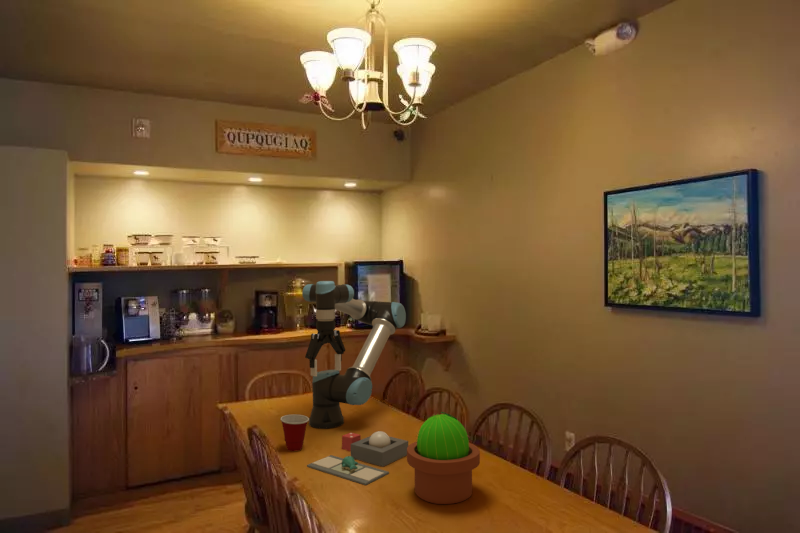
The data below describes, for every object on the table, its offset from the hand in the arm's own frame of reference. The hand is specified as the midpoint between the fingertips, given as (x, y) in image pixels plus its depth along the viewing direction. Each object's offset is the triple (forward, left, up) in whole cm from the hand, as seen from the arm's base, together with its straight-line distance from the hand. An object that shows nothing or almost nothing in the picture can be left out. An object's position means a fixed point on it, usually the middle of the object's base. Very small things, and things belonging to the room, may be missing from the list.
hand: (326, 373), depth 226 cm
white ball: (+2, +29, -26) cm, 39 cm away
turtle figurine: (+19, +30, -26) cm, 44 cm away
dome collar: (+2, +29, -27) cm, 39 cm away
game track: (+19, +29, -27) cm, 43 cm away
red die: (+2, +15, -27) cm, 31 cm away
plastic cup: (+15, -2, -27) cm, 31 cm away
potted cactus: (+15, +65, -27) cm, 72 cm away
